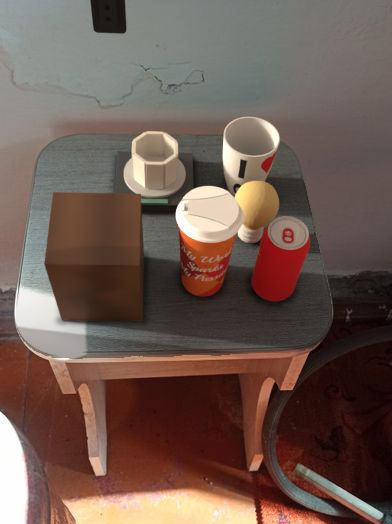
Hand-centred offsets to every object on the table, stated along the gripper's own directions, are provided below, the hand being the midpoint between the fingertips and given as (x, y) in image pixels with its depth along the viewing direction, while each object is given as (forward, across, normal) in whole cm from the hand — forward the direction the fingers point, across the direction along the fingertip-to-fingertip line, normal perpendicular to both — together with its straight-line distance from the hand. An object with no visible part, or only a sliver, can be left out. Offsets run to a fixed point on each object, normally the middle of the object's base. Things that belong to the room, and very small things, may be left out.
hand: (112, 1), depth 58 cm
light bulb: (+32, +4, +18) cm, 37 cm away
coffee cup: (+32, +12, +11) cm, 36 cm away
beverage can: (+32, +13, +21) cm, 41 cm away
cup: (+32, -6, +18) cm, 37 cm away
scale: (+32, -6, +4) cm, 33 cm away
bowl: (+30, -6, +4) cm, 31 cm away
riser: (+32, +14, -3) cm, 35 cm away
